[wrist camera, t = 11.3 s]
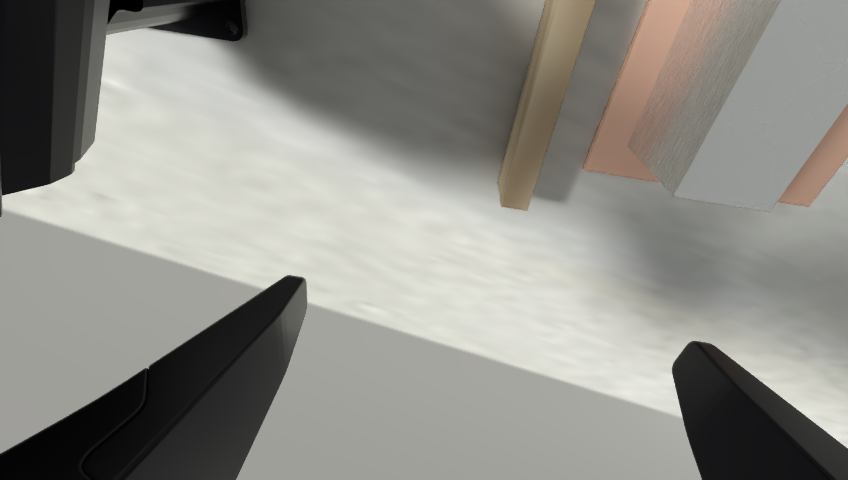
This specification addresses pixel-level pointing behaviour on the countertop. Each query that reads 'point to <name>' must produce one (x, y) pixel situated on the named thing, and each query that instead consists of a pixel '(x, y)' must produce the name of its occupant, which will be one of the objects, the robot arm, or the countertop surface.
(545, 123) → the tan corner rail
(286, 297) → the robot arm
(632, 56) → the pad
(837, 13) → the bracket
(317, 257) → the countertop surface
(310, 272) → the countertop surface
